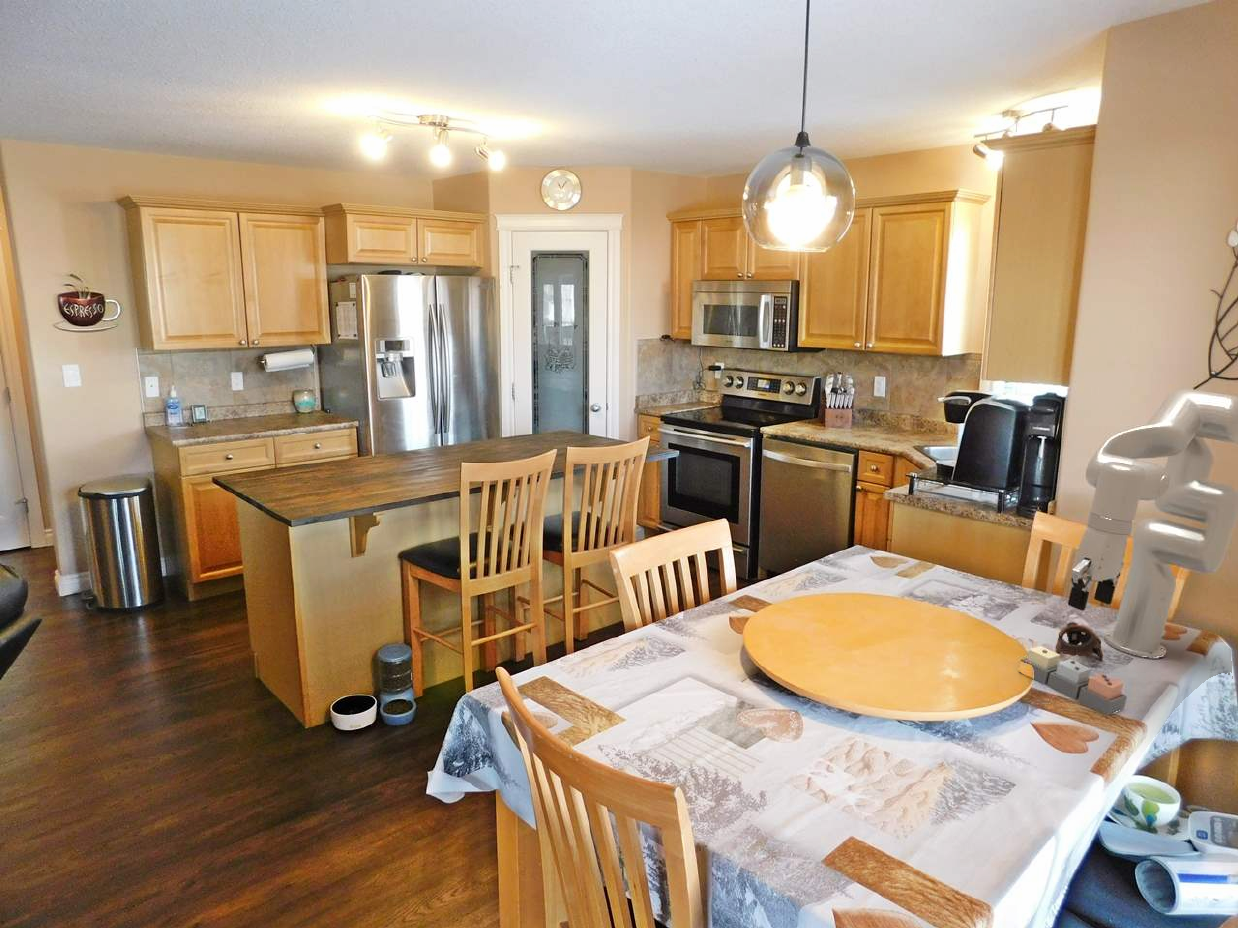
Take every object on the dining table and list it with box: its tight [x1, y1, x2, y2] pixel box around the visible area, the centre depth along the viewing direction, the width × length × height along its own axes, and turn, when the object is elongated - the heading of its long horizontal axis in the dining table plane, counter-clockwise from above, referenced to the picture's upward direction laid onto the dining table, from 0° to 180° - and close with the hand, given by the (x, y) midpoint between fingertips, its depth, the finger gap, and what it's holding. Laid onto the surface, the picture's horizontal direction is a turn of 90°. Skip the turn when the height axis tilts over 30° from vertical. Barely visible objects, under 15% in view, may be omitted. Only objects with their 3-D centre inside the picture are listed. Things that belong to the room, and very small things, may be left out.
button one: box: [1026, 645, 1061, 670], centre depth 172 cm, size 4×4×4 cm
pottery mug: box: [1055, 621, 1104, 662], centre depth 185 cm, size 12×10×8 cm
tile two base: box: [1046, 671, 1090, 701], centre depth 168 cm, size 6×6×3 cm
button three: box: [1087, 673, 1124, 700], centre depth 162 cm, size 4×4×4 cm
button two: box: [1056, 659, 1092, 685], centre depth 167 cm, size 4×4×4 cm
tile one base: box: [1020, 656, 1057, 686], centre depth 173 cm, size 6×6×3 cm
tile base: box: [1077, 685, 1128, 716], centre depth 162 cm, size 6×6×3 cm
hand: (1089, 604), depth 163 cm, fingers open, 9 cm apart
